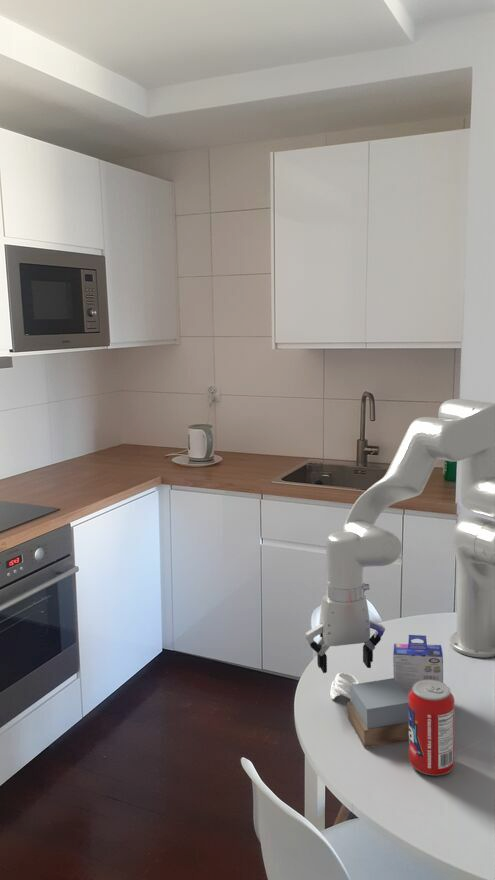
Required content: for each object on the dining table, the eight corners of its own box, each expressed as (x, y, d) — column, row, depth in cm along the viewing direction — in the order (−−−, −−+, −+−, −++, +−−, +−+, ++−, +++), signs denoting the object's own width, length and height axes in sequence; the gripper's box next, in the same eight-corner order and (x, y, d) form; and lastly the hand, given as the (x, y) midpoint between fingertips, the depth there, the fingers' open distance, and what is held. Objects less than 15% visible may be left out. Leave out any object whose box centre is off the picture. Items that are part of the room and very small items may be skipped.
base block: (395, 712, 142) (394, 694, 141) (415, 741, 132) (414, 722, 132) (348, 720, 141) (347, 701, 140) (364, 749, 131) (364, 730, 130)
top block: (393, 696, 141) (393, 678, 140) (412, 721, 132) (412, 701, 132) (351, 703, 139) (350, 684, 139) (367, 728, 131) (366, 709, 130)
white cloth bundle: (329, 688, 154) (326, 667, 153) (360, 685, 153) (357, 664, 153) (332, 706, 146) (329, 684, 145) (364, 702, 145) (361, 680, 145)
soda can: (448, 784, 120) (448, 704, 117) (403, 772, 124) (402, 694, 121) (458, 758, 126) (459, 682, 124) (415, 747, 130) (415, 673, 128)
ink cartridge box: (442, 698, 146) (442, 633, 143) (444, 713, 141) (444, 646, 138) (394, 695, 148) (393, 631, 145) (394, 709, 143) (393, 644, 140)
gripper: (378, 581, 151) (377, 655, 153) (300, 588, 148) (301, 663, 151) (390, 594, 143) (390, 671, 146) (309, 602, 140) (310, 680, 143)
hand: (345, 667), depth 148 cm, fingers open, 9 cm apart
